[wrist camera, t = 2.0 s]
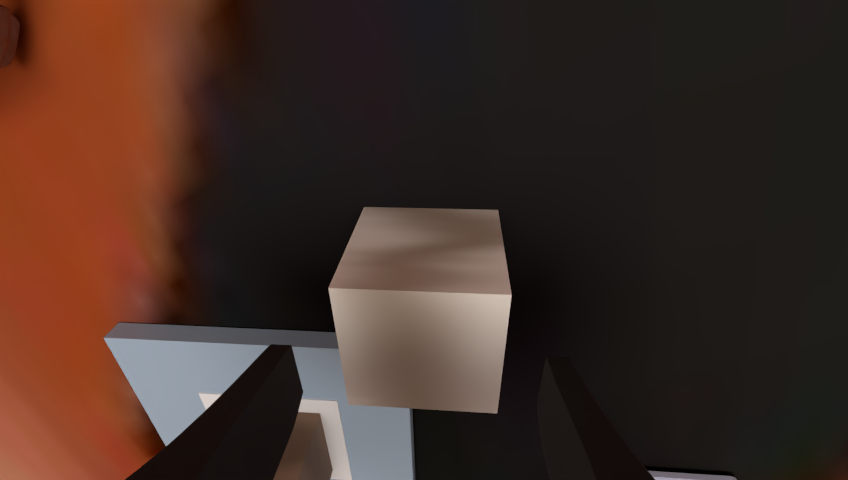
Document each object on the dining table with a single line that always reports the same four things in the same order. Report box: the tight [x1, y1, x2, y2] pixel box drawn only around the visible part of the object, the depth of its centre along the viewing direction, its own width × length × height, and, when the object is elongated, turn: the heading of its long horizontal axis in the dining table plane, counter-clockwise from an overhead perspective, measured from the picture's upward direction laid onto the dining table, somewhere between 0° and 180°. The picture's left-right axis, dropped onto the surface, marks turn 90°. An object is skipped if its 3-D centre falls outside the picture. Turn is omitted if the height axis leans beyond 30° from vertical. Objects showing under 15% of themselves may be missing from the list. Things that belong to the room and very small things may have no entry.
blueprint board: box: [104, 323, 415, 480], centre depth 23 cm, size 14×14×1 cm
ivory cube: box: [328, 207, 512, 413], centre depth 15 cm, size 5×5×5 cm
